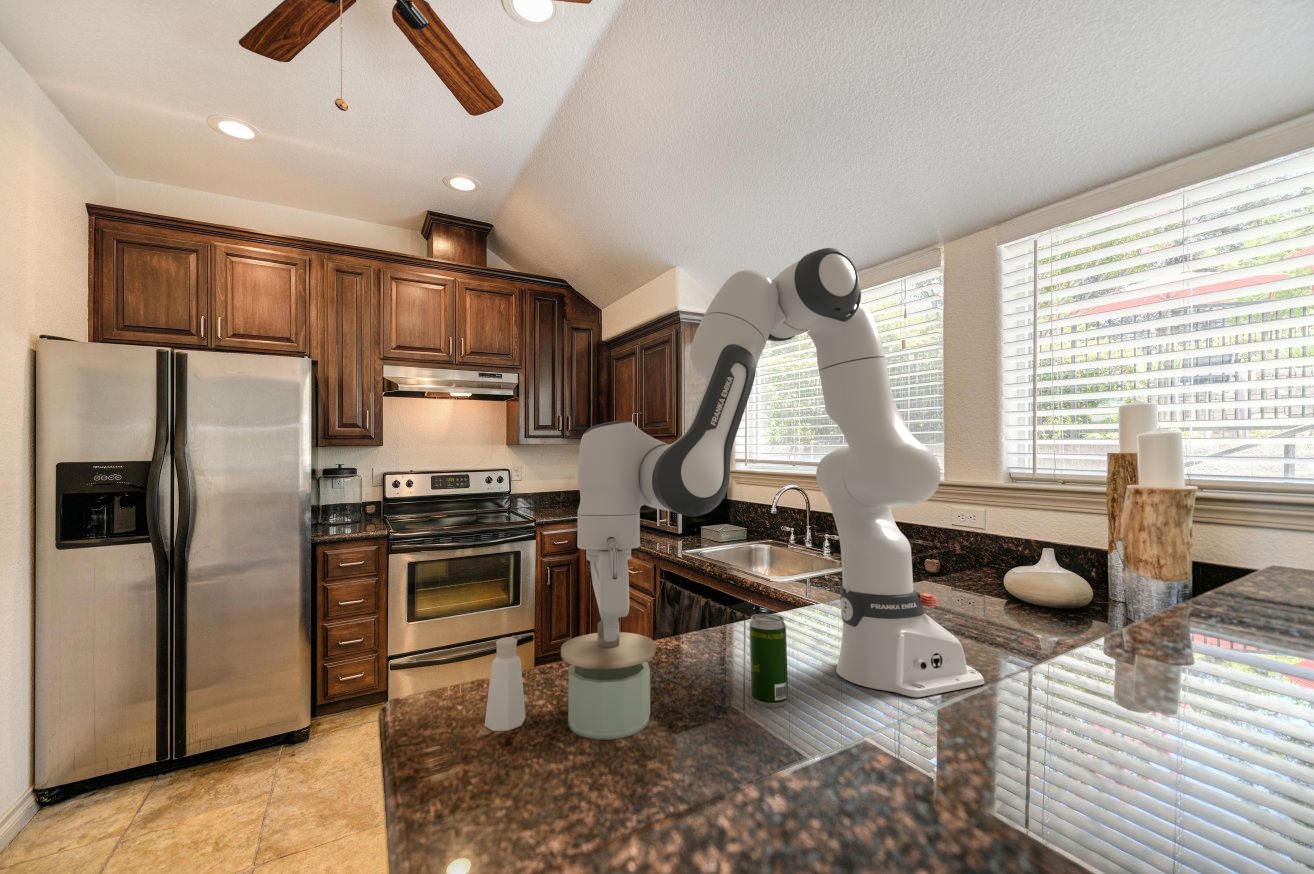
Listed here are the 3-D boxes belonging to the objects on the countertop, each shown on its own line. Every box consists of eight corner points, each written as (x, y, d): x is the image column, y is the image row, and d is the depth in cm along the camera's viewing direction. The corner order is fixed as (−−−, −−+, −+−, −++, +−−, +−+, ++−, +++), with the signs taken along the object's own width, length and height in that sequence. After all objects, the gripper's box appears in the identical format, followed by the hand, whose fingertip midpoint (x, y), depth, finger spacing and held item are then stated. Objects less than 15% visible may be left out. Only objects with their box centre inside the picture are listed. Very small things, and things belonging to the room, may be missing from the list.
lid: (647, 636, 80) (647, 609, 80) (662, 665, 67) (662, 633, 67) (561, 641, 78) (561, 614, 78) (560, 672, 65) (560, 638, 65)
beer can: (796, 701, 77) (793, 618, 78) (772, 711, 74) (770, 624, 75) (767, 690, 81) (764, 611, 82) (743, 699, 78) (741, 617, 79)
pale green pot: (643, 700, 78) (642, 652, 78) (655, 735, 67) (654, 678, 68) (568, 706, 76) (568, 657, 77) (568, 743, 65) (568, 685, 66)
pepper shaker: (509, 734, 68) (510, 647, 69) (475, 727, 70) (477, 642, 71) (533, 717, 73) (534, 636, 74) (501, 711, 75) (503, 632, 76)
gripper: (640, 541, 64) (641, 657, 63) (623, 528, 84) (624, 616, 83) (589, 543, 63) (588, 661, 62) (584, 529, 83) (584, 618, 82)
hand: (608, 635), depth 73 cm, fingers closed on lid, 3 cm apart
